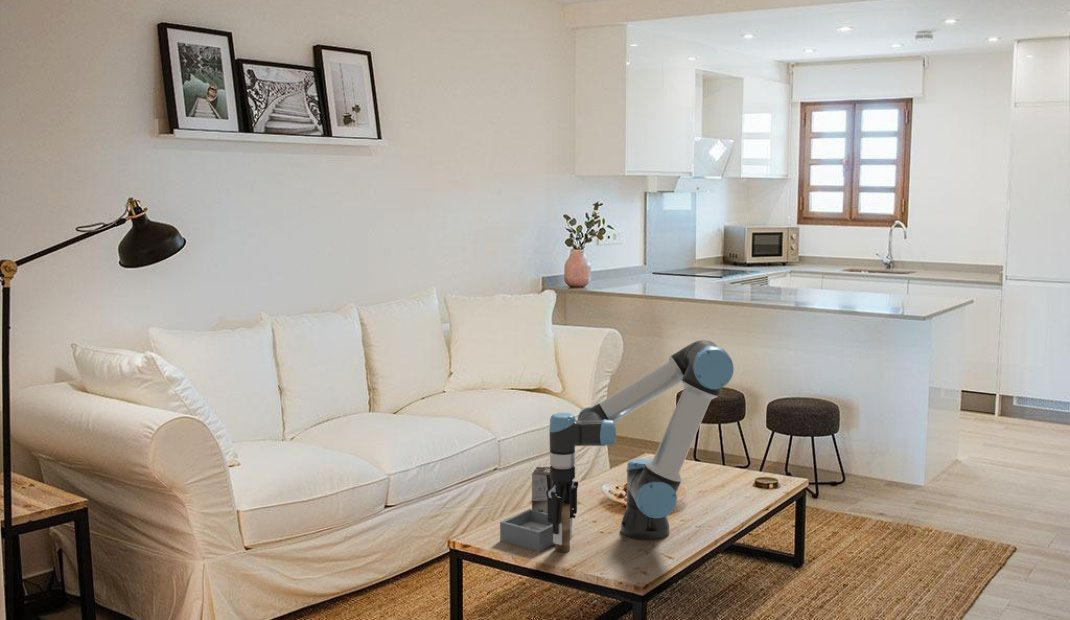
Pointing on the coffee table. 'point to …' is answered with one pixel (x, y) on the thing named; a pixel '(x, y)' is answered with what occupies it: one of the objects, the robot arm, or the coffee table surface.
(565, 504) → the peg
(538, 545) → the bin
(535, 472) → the coffee box
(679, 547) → the coffee table surface
